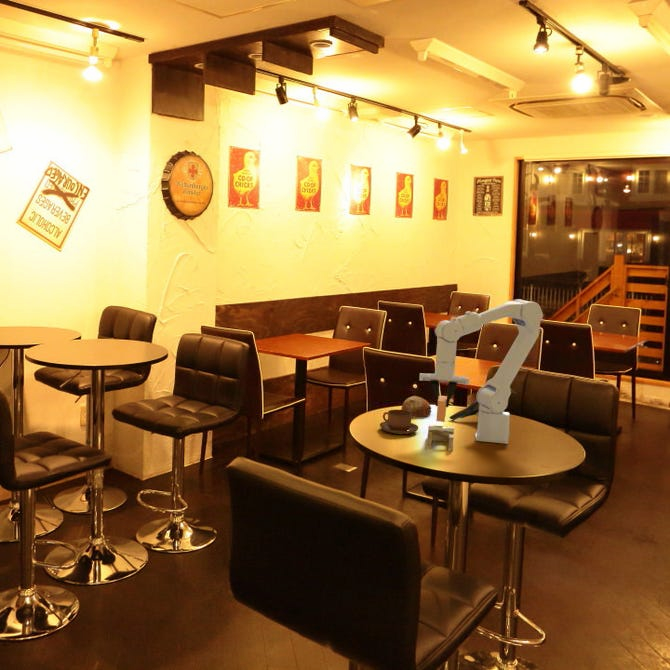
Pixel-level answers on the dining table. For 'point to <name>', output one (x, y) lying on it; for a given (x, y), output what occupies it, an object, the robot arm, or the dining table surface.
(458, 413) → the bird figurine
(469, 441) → the dining table surface
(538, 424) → the dining table surface
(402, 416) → the cup and saucer
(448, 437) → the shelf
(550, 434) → the dining table surface
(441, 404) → the orange long block
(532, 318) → the robot arm
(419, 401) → the bread roll
